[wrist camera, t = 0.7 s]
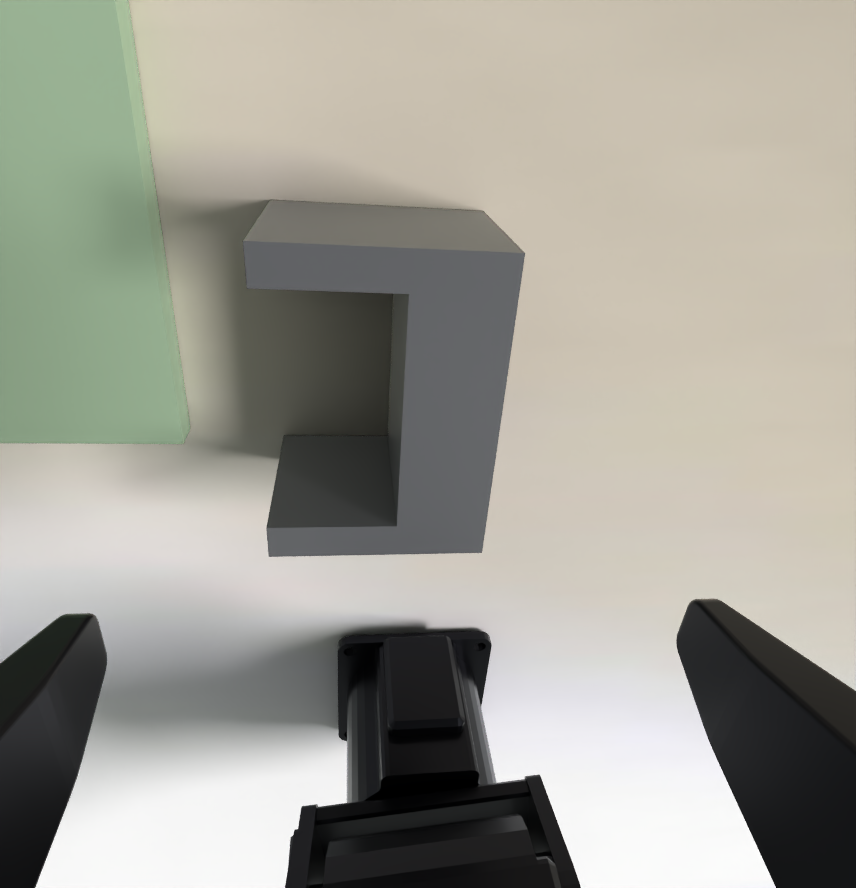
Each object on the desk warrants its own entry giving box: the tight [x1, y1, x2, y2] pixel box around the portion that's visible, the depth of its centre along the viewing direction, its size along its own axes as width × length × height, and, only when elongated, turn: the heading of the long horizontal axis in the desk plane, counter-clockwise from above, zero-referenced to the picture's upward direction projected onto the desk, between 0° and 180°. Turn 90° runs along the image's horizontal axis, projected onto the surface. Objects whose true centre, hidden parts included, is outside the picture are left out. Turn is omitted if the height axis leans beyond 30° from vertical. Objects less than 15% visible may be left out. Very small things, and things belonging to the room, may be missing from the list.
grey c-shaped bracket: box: [243, 200, 525, 557], centre depth 17 cm, size 6×8×5 cm
